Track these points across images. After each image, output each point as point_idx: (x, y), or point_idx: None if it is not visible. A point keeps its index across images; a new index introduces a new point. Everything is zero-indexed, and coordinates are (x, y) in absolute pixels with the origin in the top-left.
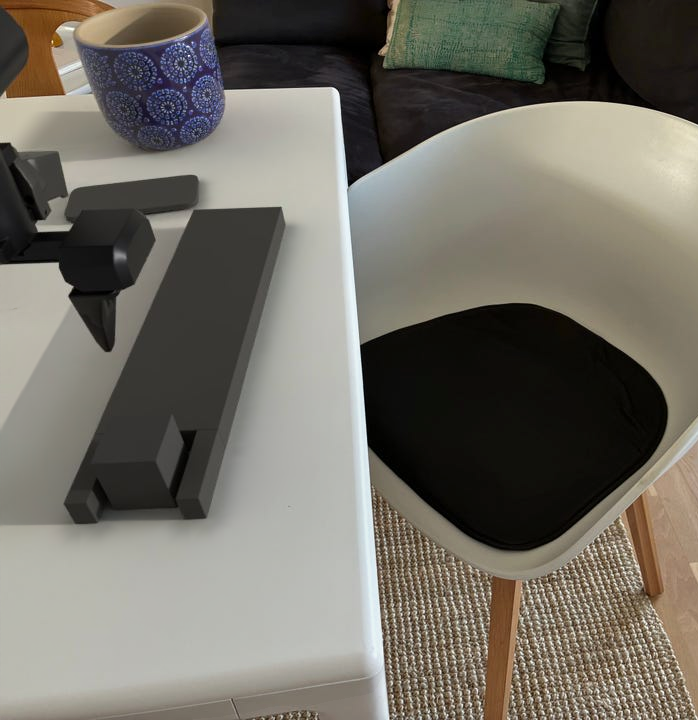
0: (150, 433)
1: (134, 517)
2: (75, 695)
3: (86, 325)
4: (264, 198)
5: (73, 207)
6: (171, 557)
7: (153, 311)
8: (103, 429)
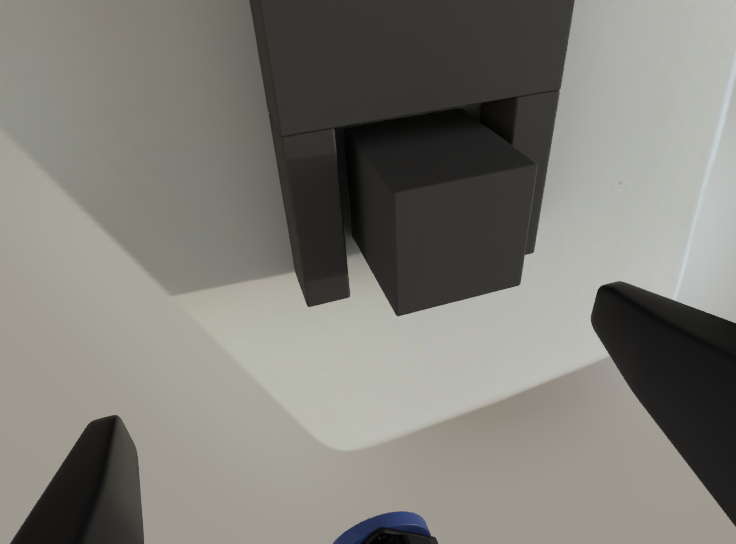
0: (500, 227)
1: None
2: (401, 434)
3: (727, 513)
4: None
5: None
6: None
7: None
8: (299, 120)
